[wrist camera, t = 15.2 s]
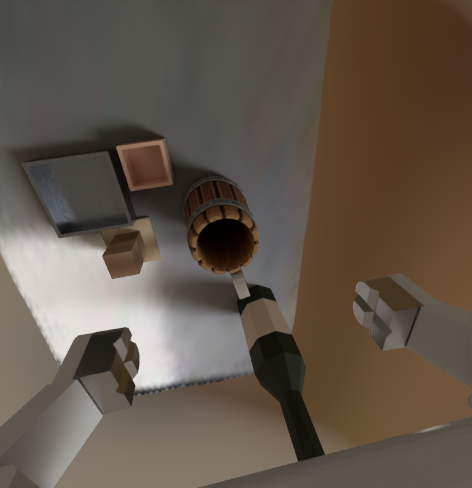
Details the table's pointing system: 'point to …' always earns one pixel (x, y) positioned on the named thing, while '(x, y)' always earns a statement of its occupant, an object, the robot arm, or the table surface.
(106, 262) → the walnut block
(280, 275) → the table surface
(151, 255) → the light wooden board
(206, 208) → the mug
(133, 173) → the terracotta pot
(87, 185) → the tin
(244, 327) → the wine bottle
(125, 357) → the robot arm
